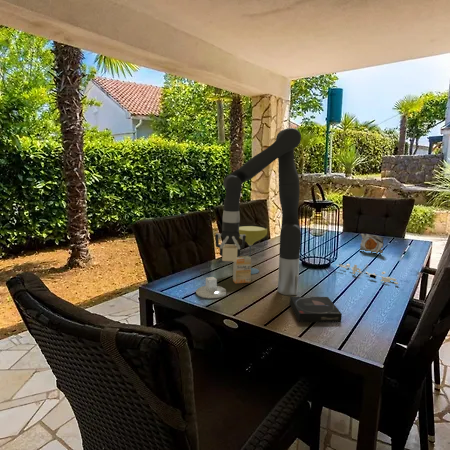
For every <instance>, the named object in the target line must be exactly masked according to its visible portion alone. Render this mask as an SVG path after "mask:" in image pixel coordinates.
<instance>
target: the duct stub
mask: <svg viewBox="0 0 450 450" xmlns="http://www.w3.org/2000/svg"><path fill="white" fill-rule="evenodd" d="M195 293H196V295H197V296H198V297H200V298H202V299H205V300H206V299H207V300H208V299H209V300H212V299H213V300H215V299H220V298H223V297H225V296H226V294H227V289H226V288H224V287H223V286H219V285H218V280H217V278H216V277H214V276H209V277H205V285H204V286H202V285H201V286H200V287H198V288H197V289H196V290H195Z"/></svg>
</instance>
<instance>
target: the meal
mask: <svg viewBox="0 0 450 450" xmlns="http://www.w3.org/2000/svg"><path fill="white" fill-rule="evenodd" d="M360 236H361V238H362V239H360V244H359V245H360V247H359V248H360V249H359V251H360V250H365V251H371V252H376V253H378V252H380V253H383V251H384V246H385V242H384V236H380V235H375V234H370V233H360Z"/></svg>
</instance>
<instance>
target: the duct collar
mask: <svg viewBox="0 0 450 450" xmlns="http://www.w3.org/2000/svg"><path fill="white" fill-rule="evenodd" d="M237 250H238V247H237V246H236V245H235V244H230V243H225V245H224V246H223V253H222V258H221V260H222V262H233V261H236V262H237Z"/></svg>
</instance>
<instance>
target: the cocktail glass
mask: <svg viewBox="0 0 450 450" xmlns="http://www.w3.org/2000/svg"><path fill="white" fill-rule="evenodd" d="M239 234H241V235H243V234H245V235H246V239H245V243H247V245H248V246H249V255H248V256H249V257H250V258H251V251H252V250H251V249H252V248H251V247H252V246H253V245H254V244H255V243H256V242H258V241H260V240H263V239H264V238H265V237H267V235H268V228H267V227H266V226H264V225H257V224H239ZM238 239H240V240H242V239H241V237H239V238H238ZM251 259H252V258H251ZM259 273H260V270H259V269H258V268H255V267H251V275H256V274H259Z"/></svg>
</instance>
